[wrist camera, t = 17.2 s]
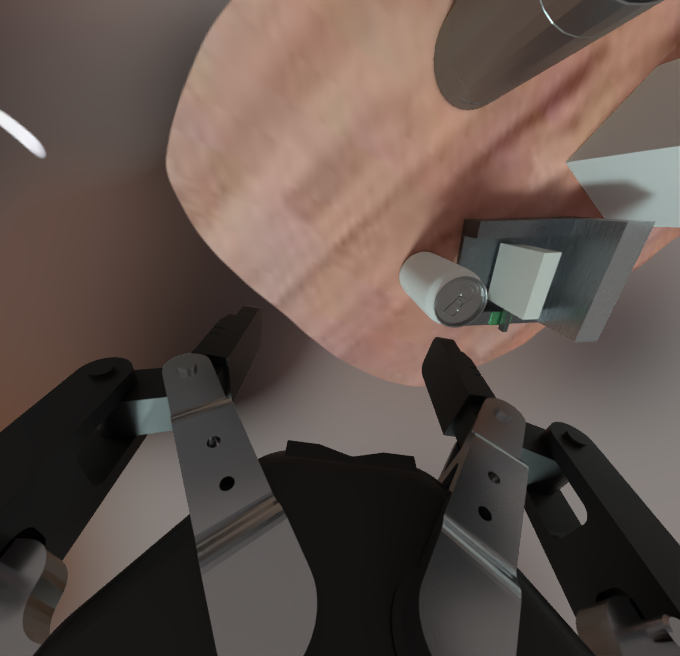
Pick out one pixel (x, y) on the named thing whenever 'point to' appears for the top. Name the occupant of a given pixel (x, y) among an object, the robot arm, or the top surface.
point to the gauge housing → (561, 266)
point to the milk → (637, 154)
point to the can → (443, 289)
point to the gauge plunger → (522, 280)
